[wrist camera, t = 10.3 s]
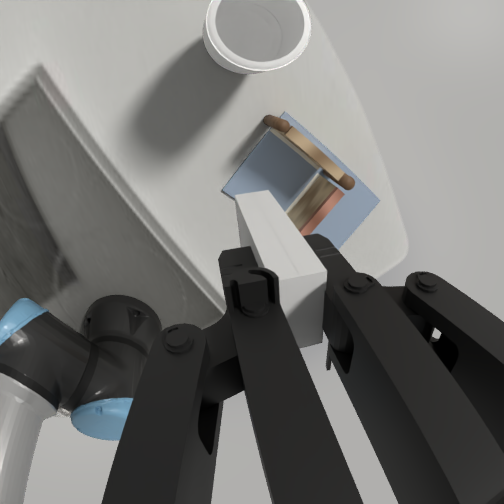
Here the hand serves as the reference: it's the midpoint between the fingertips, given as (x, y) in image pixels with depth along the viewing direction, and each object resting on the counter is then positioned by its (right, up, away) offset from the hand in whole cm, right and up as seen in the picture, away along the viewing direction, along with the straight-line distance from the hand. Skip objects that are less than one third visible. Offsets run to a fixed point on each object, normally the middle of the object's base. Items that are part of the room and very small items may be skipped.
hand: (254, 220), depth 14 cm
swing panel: (+7, +6, +35) cm, 37 cm away
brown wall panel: (+7, +15, +31) cm, 35 cm away
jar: (-2, +27, +22) cm, 35 cm away
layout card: (+9, +8, +35) cm, 38 cm away
